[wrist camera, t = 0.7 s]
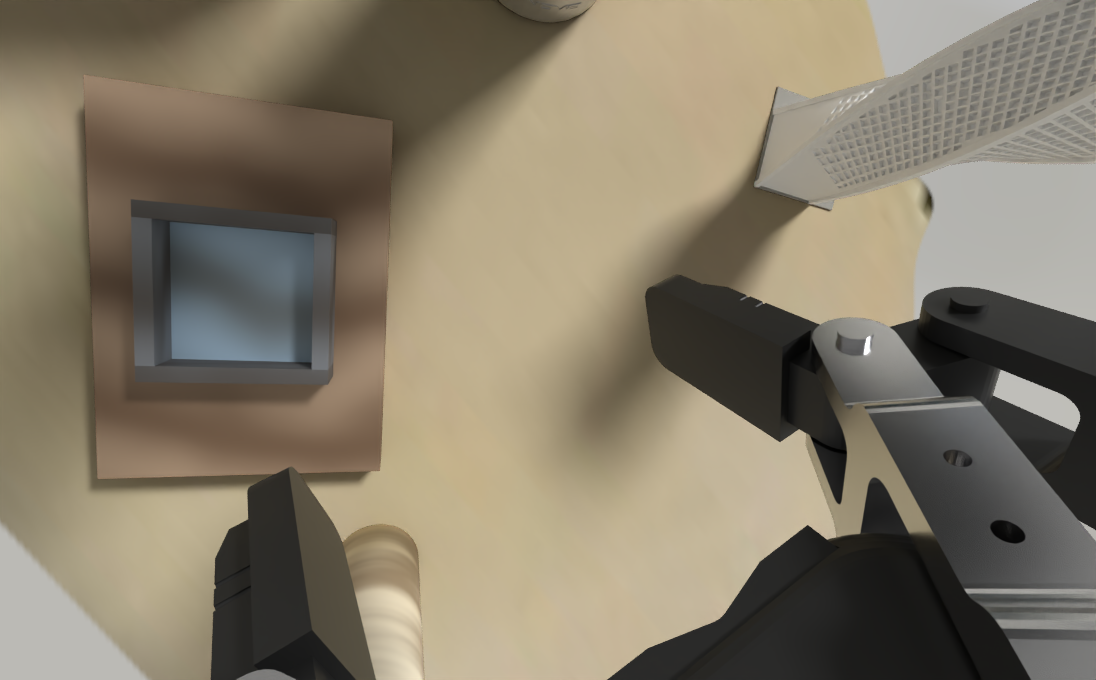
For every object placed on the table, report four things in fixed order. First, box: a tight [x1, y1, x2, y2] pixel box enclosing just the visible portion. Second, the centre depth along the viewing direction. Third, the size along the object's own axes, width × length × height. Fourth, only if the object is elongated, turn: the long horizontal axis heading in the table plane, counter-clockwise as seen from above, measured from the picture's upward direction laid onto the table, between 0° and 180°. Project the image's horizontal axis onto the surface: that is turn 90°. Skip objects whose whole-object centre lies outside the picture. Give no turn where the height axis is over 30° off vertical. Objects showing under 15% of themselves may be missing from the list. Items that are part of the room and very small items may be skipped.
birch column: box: [343, 524, 425, 680], centre depth 27 cm, size 5×5×14 cm
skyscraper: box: [754, 0, 1096, 210], centre depth 25 cm, size 8×8×28 cm
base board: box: [83, 75, 393, 479], centre depth 28 cm, size 20×14×4 cm
